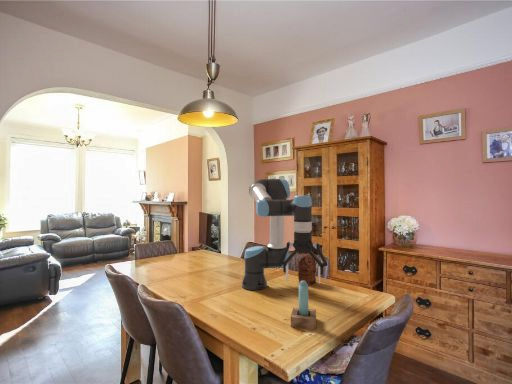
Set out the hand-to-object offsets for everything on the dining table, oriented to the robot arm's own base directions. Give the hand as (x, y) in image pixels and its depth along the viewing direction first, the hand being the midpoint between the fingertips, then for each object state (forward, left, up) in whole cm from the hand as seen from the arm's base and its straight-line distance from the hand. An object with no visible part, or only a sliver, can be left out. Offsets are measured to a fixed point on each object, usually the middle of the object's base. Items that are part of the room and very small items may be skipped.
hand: (303, 281), depth 116 cm
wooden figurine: (-1, +55, -18) cm, 57 cm away
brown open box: (0, 0, -17) cm, 17 cm away
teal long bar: (0, 0, -17) cm, 17 cm away
